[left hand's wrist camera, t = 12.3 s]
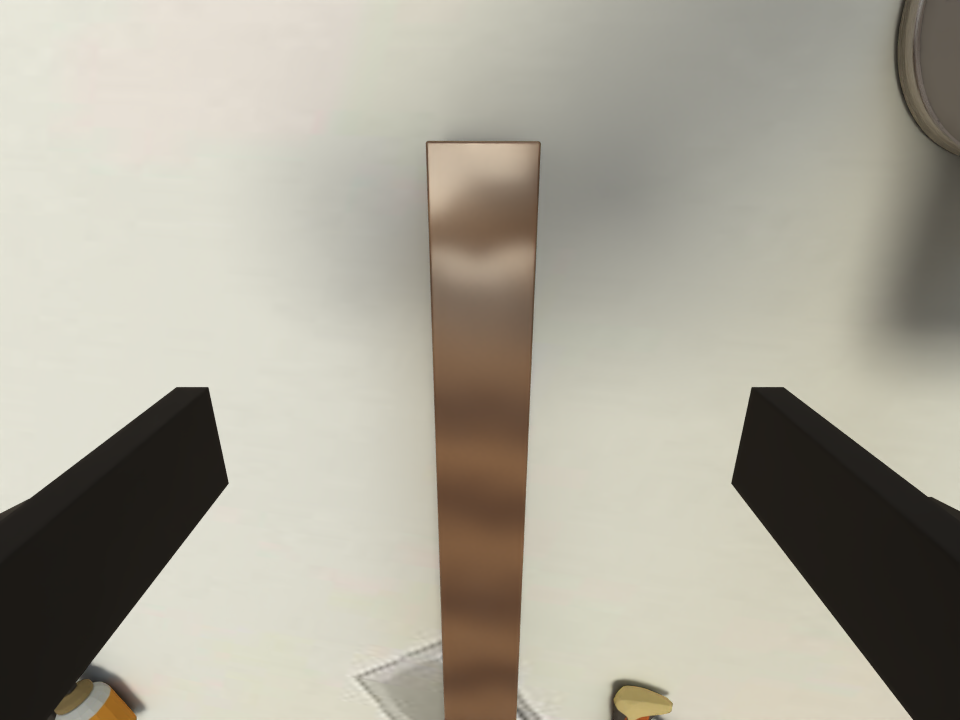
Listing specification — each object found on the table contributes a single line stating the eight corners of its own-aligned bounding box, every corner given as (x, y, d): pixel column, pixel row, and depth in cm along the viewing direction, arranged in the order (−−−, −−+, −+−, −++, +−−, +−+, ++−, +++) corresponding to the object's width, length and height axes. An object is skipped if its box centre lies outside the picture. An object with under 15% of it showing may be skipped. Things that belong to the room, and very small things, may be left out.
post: (439, 144, 30) (425, 140, 22) (525, 145, 30) (541, 141, 22) (456, 890, 58) (453, 996, 51) (501, 890, 58) (504, 996, 51)
